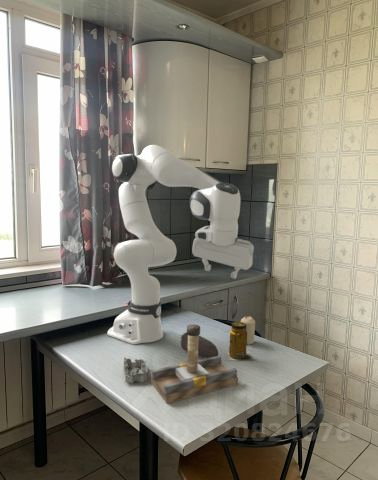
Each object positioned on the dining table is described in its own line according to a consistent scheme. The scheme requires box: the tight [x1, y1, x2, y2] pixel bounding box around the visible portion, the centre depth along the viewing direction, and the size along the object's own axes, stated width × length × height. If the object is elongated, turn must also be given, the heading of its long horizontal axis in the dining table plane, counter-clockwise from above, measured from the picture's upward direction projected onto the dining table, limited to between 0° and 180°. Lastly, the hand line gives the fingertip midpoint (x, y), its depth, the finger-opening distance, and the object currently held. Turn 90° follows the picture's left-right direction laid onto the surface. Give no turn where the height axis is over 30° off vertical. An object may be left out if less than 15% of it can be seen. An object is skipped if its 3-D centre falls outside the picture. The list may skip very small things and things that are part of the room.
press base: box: [150, 355, 239, 404], centre depth 115 cm, size 24×12×4 cm, turn 117°
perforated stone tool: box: [180, 332, 219, 359], centre depth 133 cm, size 15×5×7 cm, turn 53°
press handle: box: [175, 324, 209, 381], centre depth 113 cm, size 8×7×16 cm
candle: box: [240, 315, 256, 345], centre depth 146 cm, size 6×6×10 cm
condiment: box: [226, 321, 255, 362], centre depth 133 cm, size 7×8×12 cm
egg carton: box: [123, 356, 149, 384], centre depth 119 cm, size 11×8×4 cm
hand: (220, 273), depth 124 cm, fingers open, 8 cm apart
